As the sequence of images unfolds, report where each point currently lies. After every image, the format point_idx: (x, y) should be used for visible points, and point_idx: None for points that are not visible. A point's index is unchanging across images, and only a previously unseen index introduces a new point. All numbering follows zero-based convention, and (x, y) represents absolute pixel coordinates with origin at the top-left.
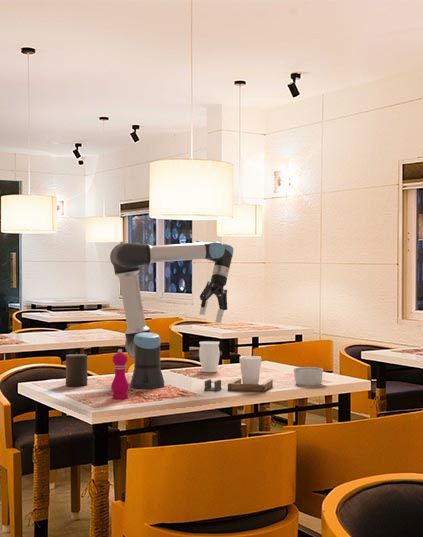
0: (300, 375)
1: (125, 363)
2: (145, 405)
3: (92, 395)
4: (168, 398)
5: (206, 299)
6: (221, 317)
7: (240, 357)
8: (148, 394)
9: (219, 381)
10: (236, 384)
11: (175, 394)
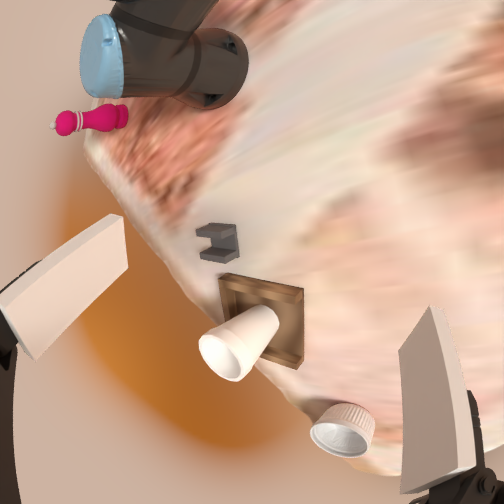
0: (319, 419)
1: (73, 130)
2: (110, 180)
3: None
4: (141, 186)
5: (7, 353)
6: (409, 401)
7: (209, 336)
8: (150, 134)
9: (216, 261)
10: (221, 296)
11: (164, 181)
